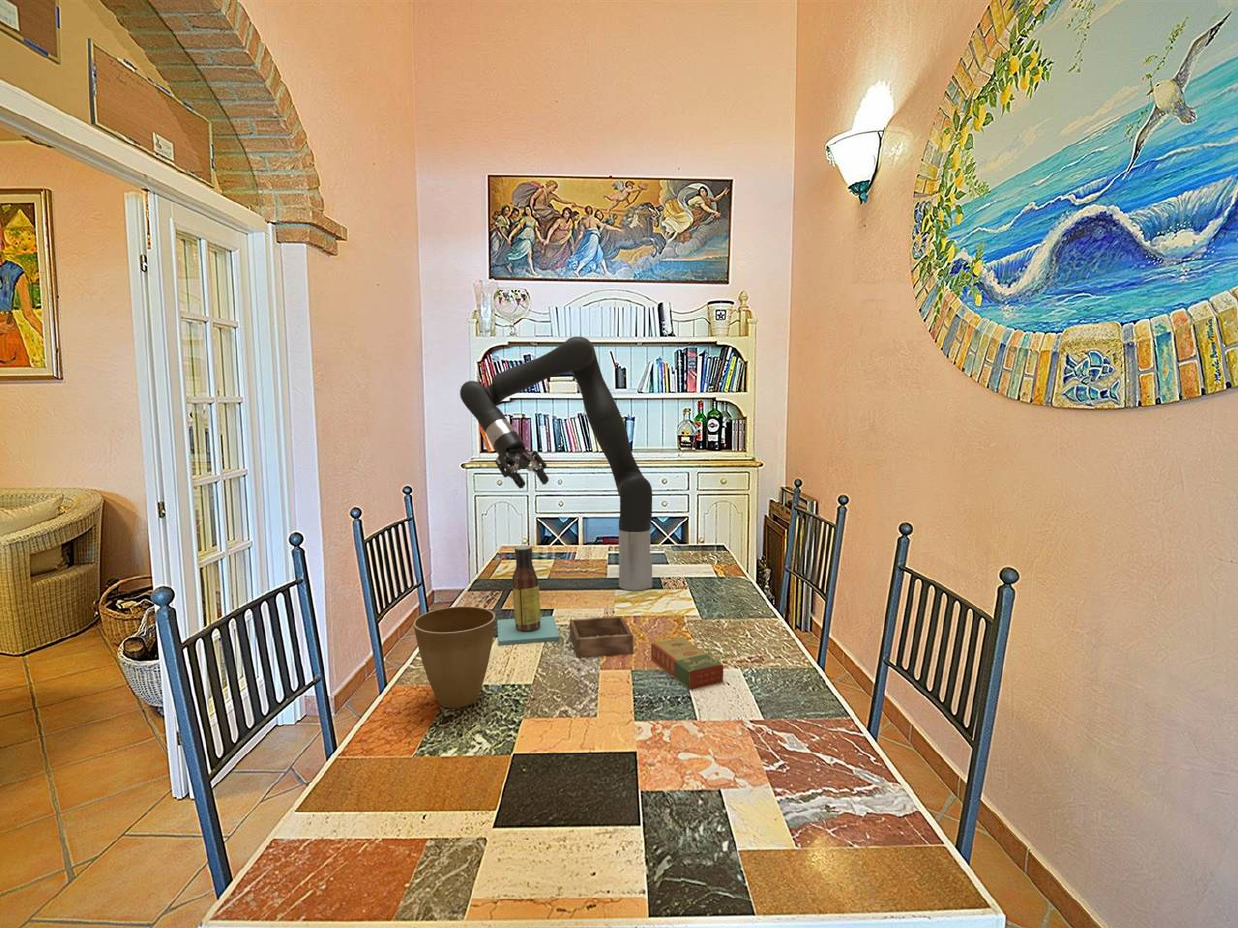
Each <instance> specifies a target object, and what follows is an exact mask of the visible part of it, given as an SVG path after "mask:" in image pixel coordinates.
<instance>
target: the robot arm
mask: <svg viewBox="0 0 1238 928" xmlns="http://www.w3.org/2000/svg"><path fill="white" fill-rule="evenodd" d="M599 364H600V363H599V362H598V357H597V353H596V351H595V347H594V345H593V343H592V342H591V341H590V340H589V339H588V338H586V337H583V336H572V337H569V338H568V339H566V340H565V341H564V342H563V343H561V344H560V345H558V346H557V347H555V348H554V349H552V350H550V351H549V352H547V353H545V354H543V355H541V356H539V357H536V358H534V359H532V360H529V361H527V362H523V363H521V364H518V365H516V366H513V367H510V368H508V369H506V370H503V371H501V372H499V373H497V374H495V375H493V376H492V378H491V384H489V385H487V386H484V385H482V383H480V382H478V381H476V380H468V381H466V382H464V383H463V384H462V386H461V387H460V390H459V395H460V400H461V401H462V403H463V404H464V406H465V407H466V408H467V410H469V412H470V413H471V414H472V415H473V416H474V418H475V419H476V420H477V422H478V423H479V425H480V427H481V428H482V430H483V432H484V433H485V434H486V436H487V439H488V440H489V443H490V444H491V445H492V447H493V448H494V450H495V452H496V453H497V455H498V456H497V457H496V458H495V461H494V462H495V464H496V466H497V468H498V470H499V471H500V473H501V475H502V476H503V478H510V479H511V480H513V482H514V484H515V485H516V486H517V487H518V488H519V489H520V490H521V489H523V488H525V486H526V482H525V480H524V478H523V477H522V475H521V474H520V473H519V471H520V470H527V471H528V472H533V473H534V474H535V475H536V476H537V478H538V479H539V481H540V483H541V484H542V485H543V486H544V485H547V483H548V482H549V480H550V479H549V477H548V475H547V474H546V471H545V469H546V468H547V466H548V465H547V463H546V462H545V461H544V459H543V458H542V457H541V456H540V454H539V452H538V451H537V450H533V451H532V452H530V453H529V452H528V451H527V450H526V447H525V446H526V445H525V443H524V440H523V439H522V438H521V436H520V435H519V434H518V432H517V431H516V429H515V428H514V426H513V425H512V423H510V422H509V421H508V419H507V418H506V416H505V415H504V413H503V412H502V410H501V409H500V408H499V407H498V406H497V405H498V404H500V403H501V402H502V401H504V400H505V399H507V398H508V397H511V396H513V395H515V394H518V393H521V392H523V391H525V390H528V389H529V388H531V387H533V386H535V385H536V384H537V385H538V384H539V383H540V382H543V381H545V380H548V379H549V378H552V377H555V376H557V375H558V376H559V375H561V374H565V373H569V372H571V373H572V375H573V376H574V379H575V380H576V381H575V382H577V385H578V387H579V390H580V394H581V397H582V402H583V405H584V410H585V415H586V418H587V420H588V423H589V426H590V428H591V430H592V433H593V435H594V437H595V439H596V441H597V443H598V446H599V448H600V450H601V451H602V453H603V454H604V456H605V458H606V460H607V462H608V464H609V467H610V469H611V472H612V477H613V480H614V483H615V486H616V490H617V493H618V496H619V520H618V587H619V588H620V589H623V590H626V591H633V592H634V591H644V590H648V589H653V555H652V554H651V523H652V516H653V489H652V485H651V483H650V482H649V480H648V479H647V478H646V477H645V476H644V475H643V473H642V472H641V469H640V467H639V465H638V464H637V462H636V460H635V458H634V457H635V456H634V455H633V453H632V450H631V449H632V448H631V445H630V444H631V443H630V439H629V434H628V432H627V427H626V425H625V421H624V419H623V417H622V415H621V411H620V410H619V407H618V405H617V403H616V400H615V399H614V397H613V395H612V393H611V390H610V388H609V387H608V385H607V384H606V382H605V379H604V376H603V374H602V371H601V367H600V365H599Z"/></svg>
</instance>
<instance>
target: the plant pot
mask: <svg viewBox="0 0 1238 928" xmlns="http://www.w3.org/2000/svg"><path fill="white" fill-rule="evenodd" d="M412 624H413V629H414V634H415V639H416V644H417V648H418V651H419V652H418V653H419V655H420V658H421V663H422V666H423V668H424V672H425V674H426V677H427V680H428V682H429V685H430V688H431V690H432V692H433V694H434V696H435V699H436V702H437V703H438V705H440V706H441V707H444V708H447V709H458V708H459V709H460V708H461V709H462V708H465V707H468V706H470V705H473V704H474V703H475V702H476V701H477V700H478V698H479V695H480V693H481V691H482V687H483V684H484V680H485V677H486V673H487V671H488V666H489V661H490V657H491V652H492V645H493V641H494V633H495V625H496V614H495V613H494V612H493V611H492V610H491V609H488V608H485V607H479V606H467V605H466V606H465V605H464V606H462V605H461V606H459V605H458V606H449V607H443V608H437V609H434V610H431V611H428V612H426V613H423V614H421V615H419V616H417V617H416V618H415V619H414V621H413V623H412Z"/></svg>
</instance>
